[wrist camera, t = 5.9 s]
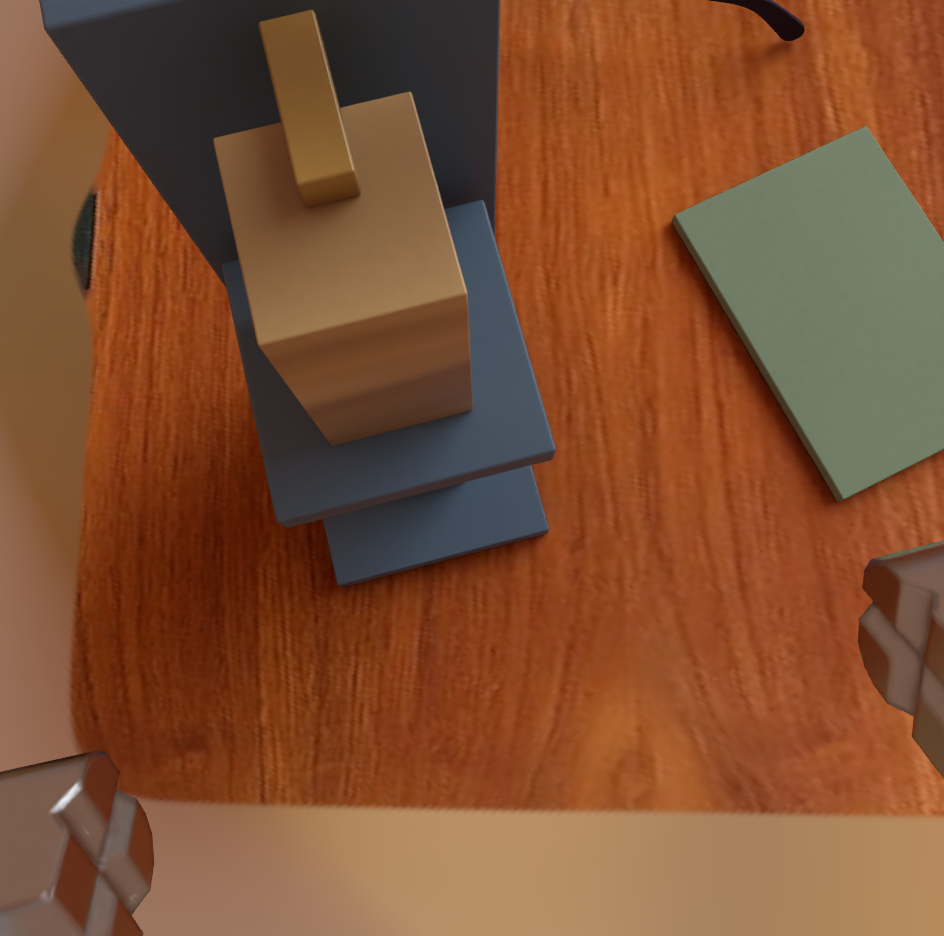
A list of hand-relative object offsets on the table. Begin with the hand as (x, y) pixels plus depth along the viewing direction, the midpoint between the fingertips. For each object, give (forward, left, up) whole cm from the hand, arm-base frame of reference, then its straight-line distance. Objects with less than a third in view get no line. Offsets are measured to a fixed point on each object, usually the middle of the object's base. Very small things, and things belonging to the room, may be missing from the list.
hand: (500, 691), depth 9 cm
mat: (+6, -19, -23) cm, 30 cm away
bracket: (+8, -1, -23) cm, 24 cm away
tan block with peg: (+8, -1, -11) cm, 14 cm away
